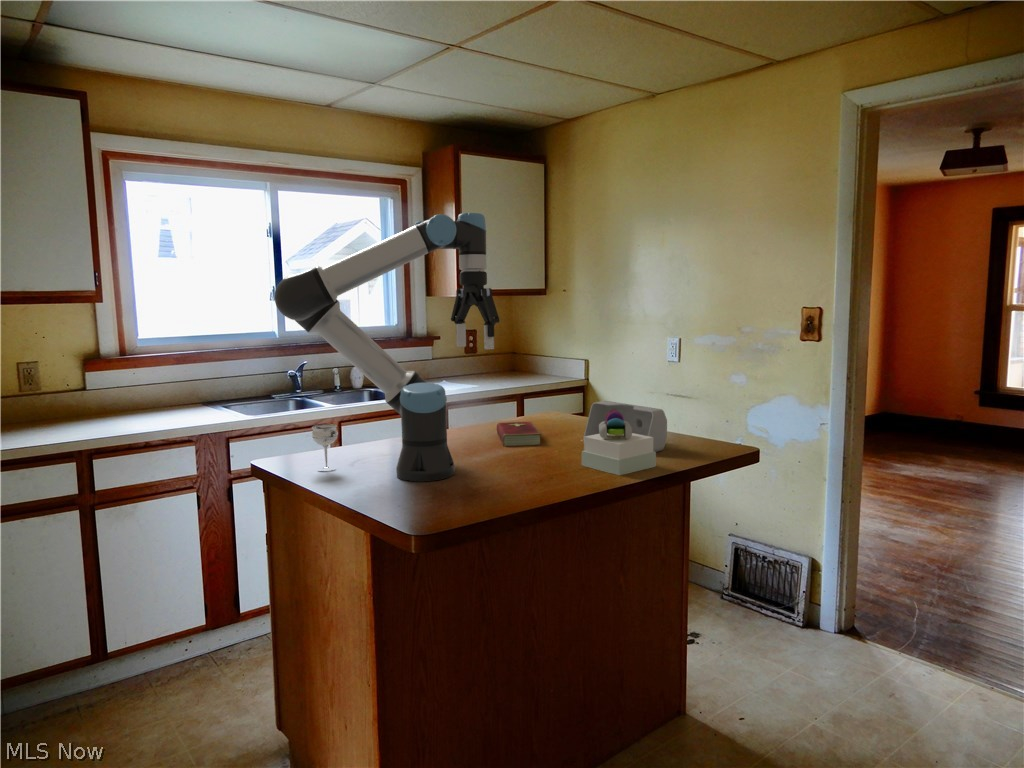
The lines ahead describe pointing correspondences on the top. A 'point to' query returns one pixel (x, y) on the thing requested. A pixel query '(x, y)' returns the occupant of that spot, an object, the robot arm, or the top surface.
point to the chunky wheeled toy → (615, 425)
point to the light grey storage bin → (631, 420)
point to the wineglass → (324, 436)
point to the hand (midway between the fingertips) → (474, 348)
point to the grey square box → (618, 453)
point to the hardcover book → (518, 433)
